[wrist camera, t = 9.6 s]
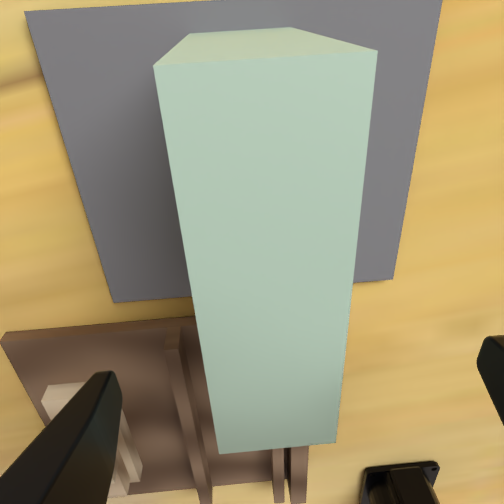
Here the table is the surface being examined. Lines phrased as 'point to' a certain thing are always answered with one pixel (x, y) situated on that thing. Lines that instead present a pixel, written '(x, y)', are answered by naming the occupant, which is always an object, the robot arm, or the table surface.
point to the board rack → (154, 402)
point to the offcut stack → (127, 454)
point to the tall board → (269, 220)
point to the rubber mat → (152, 132)
